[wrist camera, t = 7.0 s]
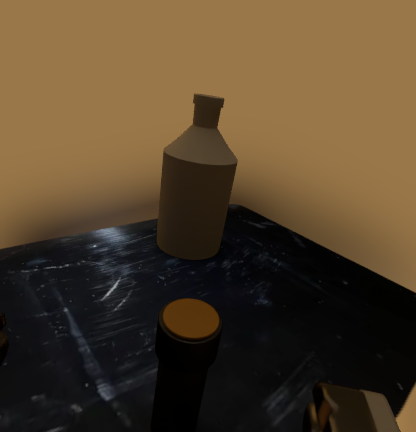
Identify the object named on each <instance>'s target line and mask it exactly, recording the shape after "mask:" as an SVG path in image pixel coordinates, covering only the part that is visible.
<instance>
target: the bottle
mask: <svg viewBox="0 0 416 432" xmlns="http://www.w3.org/2000/svg"><path fill="white" fill-rule="evenodd" d="M193 103H195V108H194V118H193V125H192V126H190V127H189V128H188V129H187V130H186V131H185V132H184V133H183V134H182V135H181V136H180V137H178V138H177V139H176V140H175V141H173V142H172V143H171V144H169V145H168V146H167V147H165V148H164V153H163V166H162V178H161V192H160V204H159V216H158V228H157V245H158V246H159V248H160V249H161V250H163V251H164V252H165V253H167V254H169V255H172V256H174V257H178V258H181V259H188V260H201V259H207V258H210V257H212V256H214V255H216V254H217V253H218V251H219V248H220V243H221V238H222V233H223V229H224V224H225V219H226V214H227V209H228V205H229V199H230V195H231V190H232V185H233V181H234V176H235V171H236V166H237V158H236V157H235V156H234V154H233V153H232V151H231V150H230V149H229V147H228V146H227V144H226V142H225V141H224V139H223V137H222V135H221V134H220V132H219V130H218V129H217V126H218V121H219V115H220V110H221V108H222V107H223V104H224V98H220V97H215V96H210V95H203V94H194V100H193Z"/></svg>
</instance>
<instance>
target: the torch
mask: <svg viewBox="0 0 416 432" xmlns="http://www.w3.org/2000/svg"><path fill="white" fill-rule="evenodd" d="M222 328H223V321H222V318H221V315H220V314H219V312H218V311H217V310H216V309H215V308H214V307H213V306H211V305H210V304H208V303H206V302H203V301H201V300H197V299H191V298H183V299H177V300H174V301H171V302H169V303H168V304H166V305H165V306H164V307H163V308H162V309H161V311H160V313H159V317H158V325H157V334H156V342H155V352H156V355H157V357H158V359H159V363H158V371H157V379H156V387H155V396H154V404H153V412H152V420H151V432H195V430H196V425H197V420H198V415H199V411H200V406H201V401H202V396H203V391H204V386H205V382H206V377H207V372H208V368H209V367H210V366H211V365H212V364H213V362H214V361H215V359H216V356H217V351H218V346H219V342H220V337H221V332H222Z"/></svg>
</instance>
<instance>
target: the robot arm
mask: <svg viewBox="0 0 416 432" xmlns="http://www.w3.org/2000/svg"><path fill="white" fill-rule="evenodd" d="M5 325H6V320H5V314H3V313H0V366H1V365H2V363H3V361H4V359H5V357H6V355H7V352H8V346H9V342H8V337H7V336H6V334H5V333H4V332H3V331H2V329H3V328H4V326H5ZM312 393H313V398H314V401H312V402H310V403H308V404H307V407H306V410H305V413H304V419H303V432H401V431H400V429H399V427H398V425H397V422H396V420H395V418H394V415H393V413H392V411H391V408H390V406H389V404H388V401H387V399H386V398H385V397H384V396H383V394H379V393H374V392H369V391H365V390H359V389H355V388H350V387H346V386H341V385H336V384H331V383H326V382H321V381H318V382H317V383H316V384H315V386H314V388H313V391H312Z"/></svg>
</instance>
